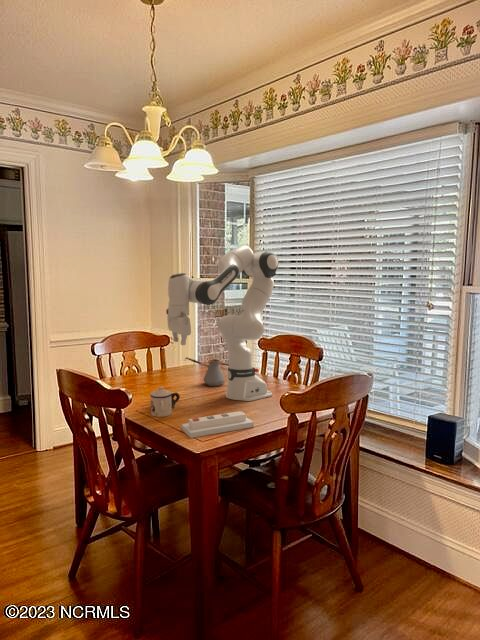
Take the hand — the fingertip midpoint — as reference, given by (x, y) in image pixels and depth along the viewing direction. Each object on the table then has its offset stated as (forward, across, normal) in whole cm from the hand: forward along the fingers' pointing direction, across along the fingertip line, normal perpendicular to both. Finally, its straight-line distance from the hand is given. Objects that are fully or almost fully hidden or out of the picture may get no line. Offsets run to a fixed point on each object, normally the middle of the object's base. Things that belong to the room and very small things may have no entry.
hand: (179, 343), depth 196 cm
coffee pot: (+29, +33, -25) cm, 51 cm away
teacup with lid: (+29, -5, +10) cm, 31 cm away
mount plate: (+29, -30, -5) cm, 42 cm away
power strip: (+29, -30, -5) cm, 42 cm away
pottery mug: (+29, +5, +5) cm, 30 cm away
